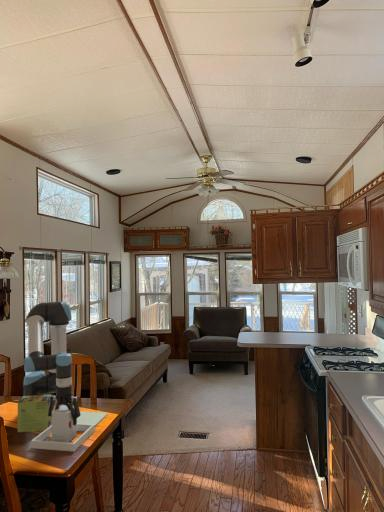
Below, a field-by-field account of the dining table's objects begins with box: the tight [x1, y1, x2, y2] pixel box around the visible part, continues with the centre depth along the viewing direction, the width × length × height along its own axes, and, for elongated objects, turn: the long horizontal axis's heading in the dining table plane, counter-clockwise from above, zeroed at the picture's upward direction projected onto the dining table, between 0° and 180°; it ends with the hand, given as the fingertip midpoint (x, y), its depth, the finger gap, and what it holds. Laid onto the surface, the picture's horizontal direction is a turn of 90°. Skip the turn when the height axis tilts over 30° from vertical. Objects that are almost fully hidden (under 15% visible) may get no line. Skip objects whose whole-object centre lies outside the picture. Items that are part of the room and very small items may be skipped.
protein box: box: [17, 393, 53, 433], centre depth 207 cm, size 10×15×16 cm
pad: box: [77, 410, 109, 428], centre depth 215 cm, size 18×18×1 cm
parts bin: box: [30, 423, 96, 453], centre depth 192 cm, size 22×22×4 cm
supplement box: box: [51, 404, 77, 443], centre depth 192 cm, size 9×9×15 cm
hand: (64, 430), depth 192 cm, fingers closed on supplement box, 9 cm apart
